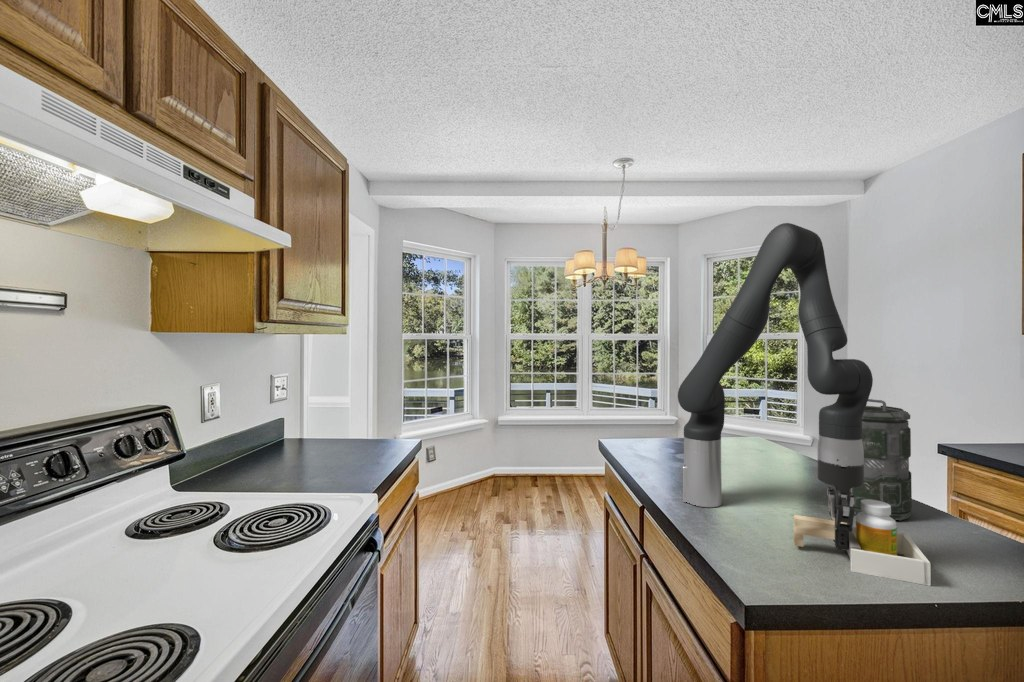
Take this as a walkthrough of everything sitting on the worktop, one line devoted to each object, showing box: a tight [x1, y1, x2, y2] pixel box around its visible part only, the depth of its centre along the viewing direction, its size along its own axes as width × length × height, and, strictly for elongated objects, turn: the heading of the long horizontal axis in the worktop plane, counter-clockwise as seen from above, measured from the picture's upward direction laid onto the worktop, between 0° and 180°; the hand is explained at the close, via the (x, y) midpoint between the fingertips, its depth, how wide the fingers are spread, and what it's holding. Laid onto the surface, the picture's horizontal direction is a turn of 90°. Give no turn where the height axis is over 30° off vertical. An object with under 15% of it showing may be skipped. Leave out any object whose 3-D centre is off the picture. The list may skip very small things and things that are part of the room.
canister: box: [850, 398, 913, 522], centre depth 115 cm, size 16×16×28 cm
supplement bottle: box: [855, 499, 898, 556], centre depth 88 cm, size 6×6×11 cm
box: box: [850, 525, 932, 587], centre depth 88 cm, size 11×14×4 cm
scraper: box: [793, 514, 861, 560], centre depth 92 cm, size 10×9×6 cm
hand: (840, 545), depth 91 cm, fingers closed on scraper, 2 cm apart
